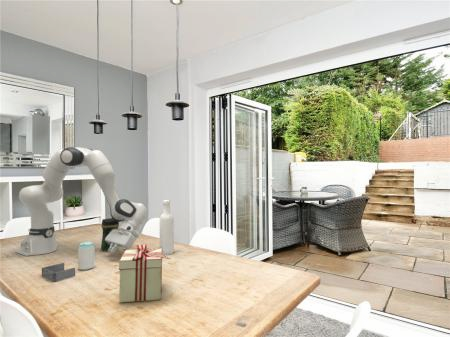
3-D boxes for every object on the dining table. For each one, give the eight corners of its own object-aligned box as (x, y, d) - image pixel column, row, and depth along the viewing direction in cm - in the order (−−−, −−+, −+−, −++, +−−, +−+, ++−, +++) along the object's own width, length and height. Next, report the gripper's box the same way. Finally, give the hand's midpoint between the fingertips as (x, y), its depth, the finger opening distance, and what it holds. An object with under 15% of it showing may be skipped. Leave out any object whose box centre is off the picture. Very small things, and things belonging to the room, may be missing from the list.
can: (92, 270, 132) (92, 244, 132) (76, 271, 131) (76, 245, 131) (96, 265, 139) (96, 241, 139) (81, 266, 138) (81, 241, 138)
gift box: (172, 298, 102) (172, 251, 102) (118, 305, 97) (118, 255, 97) (168, 280, 118) (167, 240, 119) (121, 286, 113) (121, 243, 113)
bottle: (170, 255, 154) (170, 201, 154) (157, 254, 155) (157, 200, 156) (175, 251, 162) (175, 199, 162) (163, 250, 163) (162, 199, 163)
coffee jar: (104, 252, 161) (104, 220, 161) (99, 249, 166) (99, 218, 167) (121, 249, 167) (120, 218, 168) (115, 246, 173) (115, 216, 173)
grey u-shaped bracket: (63, 270, 132) (63, 262, 132) (75, 275, 125) (75, 268, 125) (41, 275, 125) (41, 267, 125) (53, 282, 117) (53, 274, 117)
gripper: (112, 224, 157) (95, 245, 149) (134, 228, 144) (116, 252, 136) (119, 230, 160) (103, 251, 152) (141, 235, 148) (125, 258, 140)
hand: (110, 252), depth 144 cm, fingers closed
